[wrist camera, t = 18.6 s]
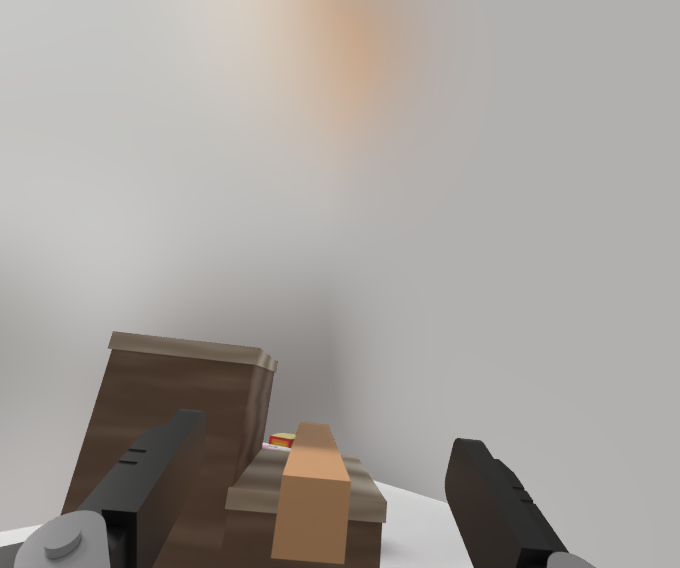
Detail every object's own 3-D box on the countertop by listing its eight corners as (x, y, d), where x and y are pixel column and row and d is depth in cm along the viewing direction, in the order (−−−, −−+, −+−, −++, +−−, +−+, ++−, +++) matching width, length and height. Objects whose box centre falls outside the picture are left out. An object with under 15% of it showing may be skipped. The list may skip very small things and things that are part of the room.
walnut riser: (356, 1087, 15) (394, 363, 24) (-126, 1090, 14) (112, 331, 23) (334, 750, 29) (363, 371, 38) (91, 737, 27) (185, 351, 37)
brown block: (344, 564, 13) (350, 481, 14) (270, 558, 13) (282, 474, 14) (324, 455, 34) (327, 424, 35) (296, 452, 34) (300, 421, 35)
